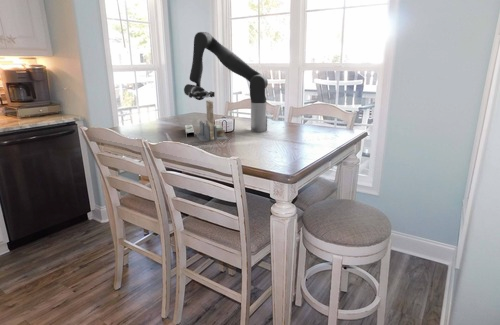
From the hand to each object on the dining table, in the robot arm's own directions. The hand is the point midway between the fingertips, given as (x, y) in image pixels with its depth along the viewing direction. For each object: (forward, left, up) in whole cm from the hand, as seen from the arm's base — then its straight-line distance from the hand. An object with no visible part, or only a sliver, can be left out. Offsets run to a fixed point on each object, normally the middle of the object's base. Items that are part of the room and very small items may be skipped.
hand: (204, 95), depth 178 cm
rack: (-1, +5, -23) cm, 24 cm away
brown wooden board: (0, +12, -21) cm, 25 cm away
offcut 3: (-6, +3, -21) cm, 22 cm away
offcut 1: (-6, +2, -18) cm, 19 cm away
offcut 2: (-6, +3, -20) cm, 21 cm away
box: (+9, -3, -24) cm, 25 cm away
